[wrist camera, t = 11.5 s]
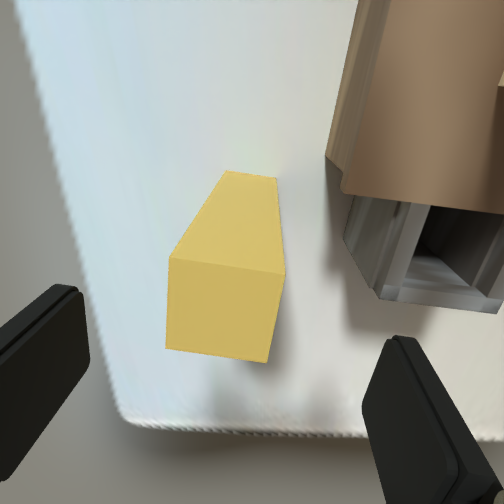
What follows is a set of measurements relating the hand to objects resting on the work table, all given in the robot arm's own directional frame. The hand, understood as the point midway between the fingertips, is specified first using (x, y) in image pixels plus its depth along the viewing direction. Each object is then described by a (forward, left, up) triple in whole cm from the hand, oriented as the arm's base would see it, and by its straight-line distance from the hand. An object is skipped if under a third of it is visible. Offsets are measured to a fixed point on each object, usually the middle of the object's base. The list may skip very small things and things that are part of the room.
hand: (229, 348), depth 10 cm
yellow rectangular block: (+1, 0, -18) cm, 18 cm away
